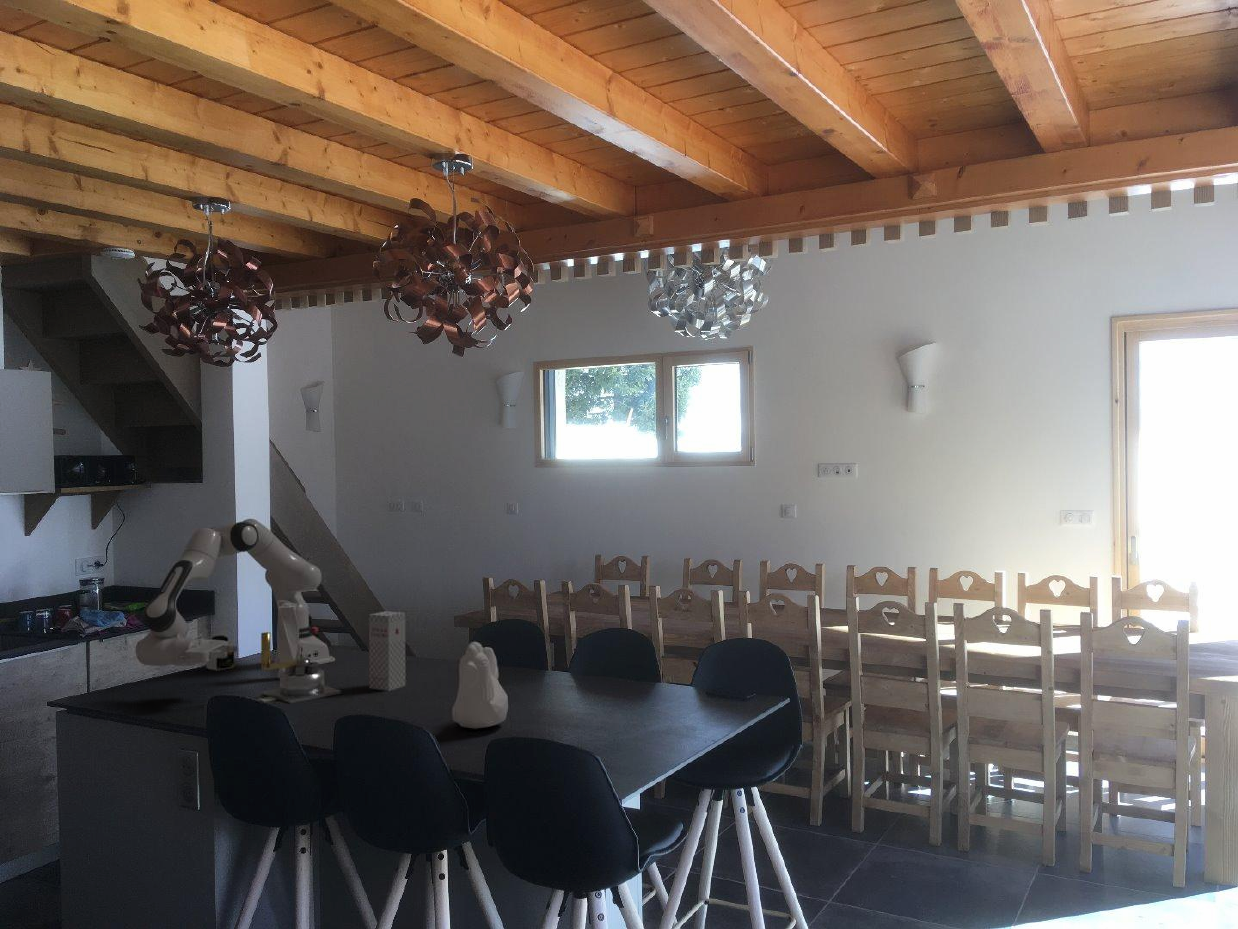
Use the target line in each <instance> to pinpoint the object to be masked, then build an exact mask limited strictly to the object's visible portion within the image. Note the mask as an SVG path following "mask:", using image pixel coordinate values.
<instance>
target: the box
mask: <svg viewBox="0 0 1238 929" xmlns="http://www.w3.org/2000/svg"><path fill="white" fill-rule="evenodd" d="M368 640H369V641H368V642H369V643H368V649H369V650H368V651H369V653H368V654H369V655H368V656H369V657H368V659H369V660H368V662H369V665H368V666H369V667H368V668H369V672H368V673H369V674H368V676H369V685H368V686H369V689H373V690H381V691H388V692H390V691H394V690H396V689H399V688H402V687H406V613H405V612H399V611H389V610H387V611H386V610H385V611H379V612H375V613H370V614H368Z"/></svg>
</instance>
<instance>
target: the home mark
mask: <svg viewBox="0 0 1238 929" xmlns="http://www.w3.org/2000/svg"><path fill="white" fill-rule="evenodd" d="M258 699H259V700H262V701H264V703H268V702H273V701H277V699H276V698H273V697H270V696H266V697H262V698H260V697H259V698H258Z"/></svg>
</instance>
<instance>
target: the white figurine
mask: <svg viewBox="0 0 1238 929" xmlns="http://www.w3.org/2000/svg"><path fill="white" fill-rule="evenodd" d="M458 669H459V670H458V671H459V684H458V685H459V686H458V692H457V694H456V700H455V701H454V704H453V706H452V709H451V710H452V711H451V712H452V714H451V715H452V720H453V721H454V723H457V724H458V725H459V726H460V727H463V728H468V729H469V728H470V729H482V728H488V727H492V726H496V725H499V724H501V723H502V722H504V721H506V718H507V714H508V710H509V700H508V699H509V698H508V696H509V695H507V693H506V691H505V690H504V688H503V687H502V686H501V684H500V682H499V680H498V679H499V667H498V660H497V657H496V654H495V652H494V650H493V648H491V647H487V646H485V647H483V645H482V644H481V643H479V642H477V641H472V642H470V643H469V644H468V646H467V648H466V650H465V654H463V656H461V658H460V661H459V667H458Z"/></svg>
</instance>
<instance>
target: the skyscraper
mask: <svg viewBox="0 0 1238 929" xmlns="http://www.w3.org/2000/svg"><path fill="white" fill-rule="evenodd" d="M278 602H287V603H283V604H282V606H281V607H280V606H279V603H278ZM277 604H278V607H279V611H280V614H279V619H278V618H277V626H276V644H277V646H278V653H279V658H280V662H284V661H292V660H295V659H296V655H297V650H298V643H299V626H298V620H297V616H296V612H295V610H296V607H297V604H295V603H290V602H288V601H284V600H280V601H277V602H276V605H277ZM292 604H294V605H292ZM277 646H276V647H277ZM300 658H304V654H303V642H302V647H301V654H300ZM284 671H285V668H278V672H277V676H276V679H278V680H280V673H282V672H284Z"/></svg>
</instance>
